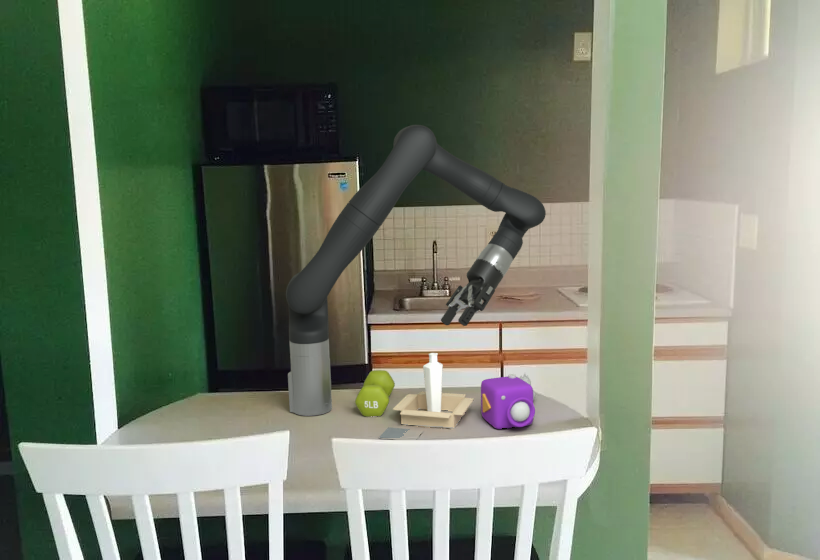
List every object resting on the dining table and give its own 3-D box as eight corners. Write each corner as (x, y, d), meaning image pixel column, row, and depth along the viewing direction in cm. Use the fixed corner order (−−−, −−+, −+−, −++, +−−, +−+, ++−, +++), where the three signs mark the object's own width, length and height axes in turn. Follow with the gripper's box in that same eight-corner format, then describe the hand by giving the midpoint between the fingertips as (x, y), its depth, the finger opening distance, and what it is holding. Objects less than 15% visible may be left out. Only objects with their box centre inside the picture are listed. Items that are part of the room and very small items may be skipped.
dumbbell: (388, 418, 162) (387, 388, 161) (354, 418, 163) (352, 388, 162) (396, 396, 178) (395, 368, 177) (365, 396, 179) (364, 368, 178)
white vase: (421, 420, 160) (420, 355, 157) (428, 414, 164) (427, 351, 161) (440, 422, 158) (439, 357, 156) (447, 416, 162) (446, 352, 160)
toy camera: (508, 439, 147) (508, 393, 145) (473, 420, 159) (472, 377, 157) (549, 429, 152) (549, 384, 150) (512, 411, 164) (512, 370, 162)
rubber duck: (517, 408, 166) (516, 375, 165) (508, 400, 172) (508, 368, 171) (539, 406, 167) (539, 374, 165) (530, 398, 173) (530, 366, 172)
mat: (379, 438, 149) (378, 437, 149) (388, 429, 155) (388, 427, 155) (415, 442, 147) (415, 440, 147) (423, 432, 152) (423, 430, 152)
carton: (389, 427, 156) (389, 412, 155) (411, 404, 171) (411, 390, 170) (460, 433, 151) (460, 417, 150) (476, 409, 166) (476, 395, 165)
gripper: (463, 260, 170) (427, 313, 165) (494, 255, 157) (455, 313, 152) (485, 279, 172) (449, 332, 167) (517, 276, 159) (480, 334, 154)
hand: (452, 323), depth 160 cm, fingers open, 8 cm apart
